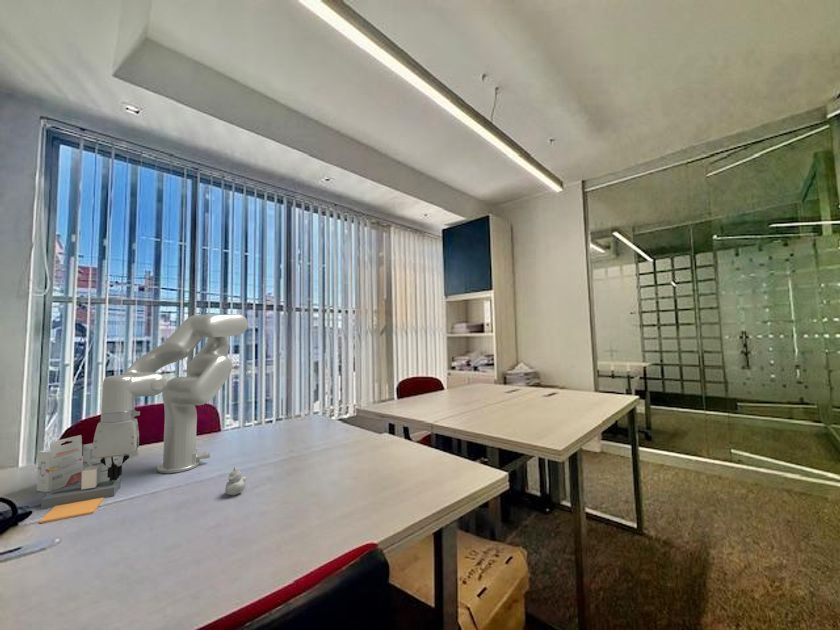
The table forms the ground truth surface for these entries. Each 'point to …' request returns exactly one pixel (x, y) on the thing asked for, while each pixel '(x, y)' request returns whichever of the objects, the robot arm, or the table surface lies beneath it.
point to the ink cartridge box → (60, 464)
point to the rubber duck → (235, 483)
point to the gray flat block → (79, 494)
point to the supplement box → (87, 462)
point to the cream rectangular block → (90, 477)
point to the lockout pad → (72, 510)
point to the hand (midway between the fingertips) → (114, 479)
